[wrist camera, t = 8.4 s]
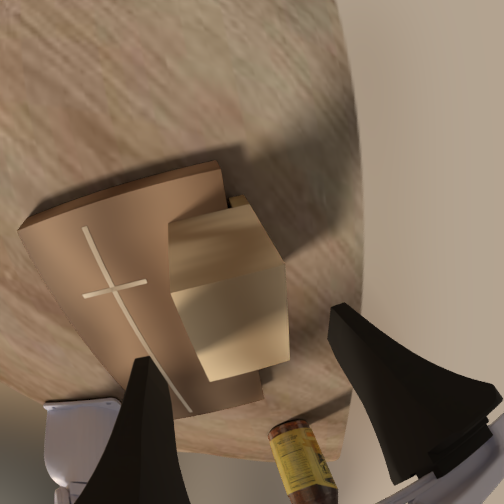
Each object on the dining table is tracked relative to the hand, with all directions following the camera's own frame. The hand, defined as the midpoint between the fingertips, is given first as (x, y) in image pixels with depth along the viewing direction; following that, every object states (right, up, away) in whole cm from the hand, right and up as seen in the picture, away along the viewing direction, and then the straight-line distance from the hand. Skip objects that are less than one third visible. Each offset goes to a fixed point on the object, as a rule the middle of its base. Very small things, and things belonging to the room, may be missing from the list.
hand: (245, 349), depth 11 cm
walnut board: (-5, -2, +9) cm, 10 cm away
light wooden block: (-2, +4, +6) cm, 7 cm away
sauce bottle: (+5, -21, +25) cm, 33 cm away
